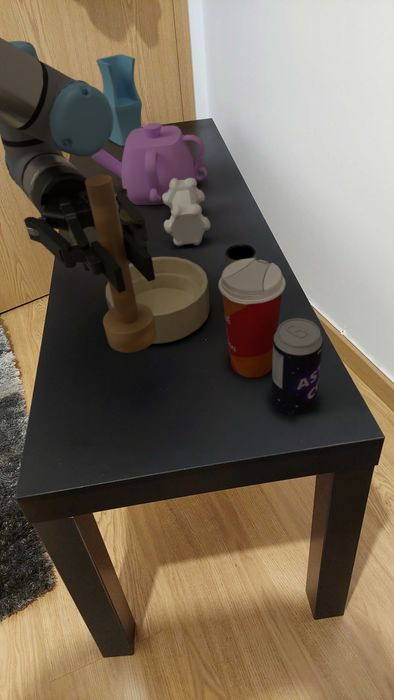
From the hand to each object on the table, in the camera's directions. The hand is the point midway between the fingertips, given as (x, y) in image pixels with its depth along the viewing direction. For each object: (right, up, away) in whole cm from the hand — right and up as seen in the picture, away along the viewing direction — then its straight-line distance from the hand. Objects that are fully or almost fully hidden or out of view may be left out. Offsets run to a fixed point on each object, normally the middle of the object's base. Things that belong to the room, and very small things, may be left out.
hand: (135, 274), depth 51 cm
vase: (-13, +51, +92) cm, 106 cm away
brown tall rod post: (-2, -6, +12) cm, 13 cm away
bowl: (0, -2, +31) cm, 31 cm away
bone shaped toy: (+4, +16, +51) cm, 54 cm away
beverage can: (+19, -14, +15) cm, 28 cm away
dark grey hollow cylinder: (+13, -1, +31) cm, 34 cm away
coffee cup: (+14, -10, +21) cm, 27 cm away
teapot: (-4, +29, +66) cm, 72 cm away
